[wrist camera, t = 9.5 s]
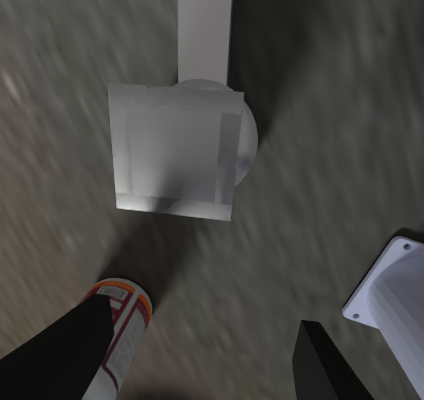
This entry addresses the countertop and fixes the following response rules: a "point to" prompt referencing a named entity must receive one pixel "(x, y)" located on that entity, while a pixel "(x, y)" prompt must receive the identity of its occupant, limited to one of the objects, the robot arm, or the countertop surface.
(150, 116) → the grey block
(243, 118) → the ratchet
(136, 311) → the pill bottle
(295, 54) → the countertop surface
